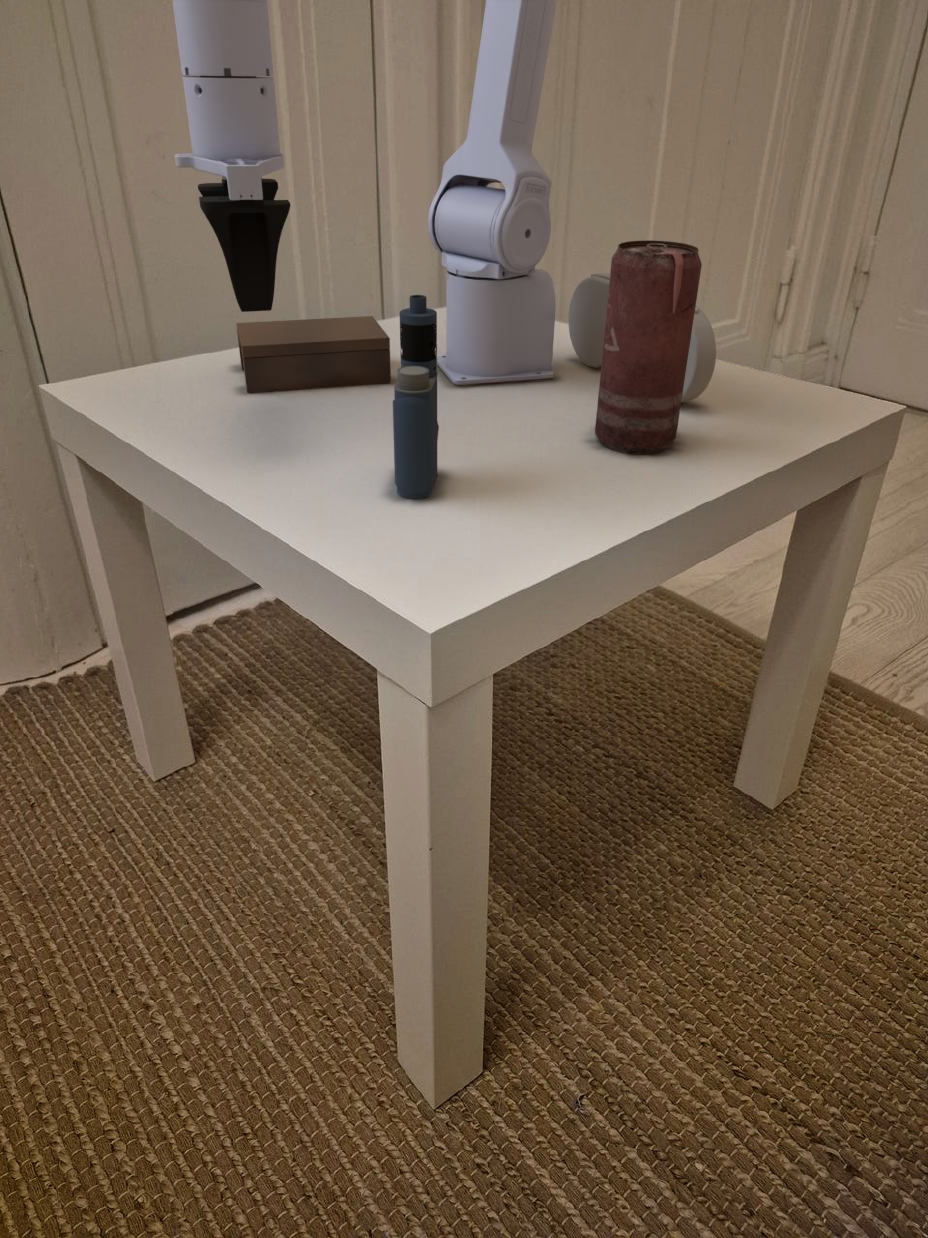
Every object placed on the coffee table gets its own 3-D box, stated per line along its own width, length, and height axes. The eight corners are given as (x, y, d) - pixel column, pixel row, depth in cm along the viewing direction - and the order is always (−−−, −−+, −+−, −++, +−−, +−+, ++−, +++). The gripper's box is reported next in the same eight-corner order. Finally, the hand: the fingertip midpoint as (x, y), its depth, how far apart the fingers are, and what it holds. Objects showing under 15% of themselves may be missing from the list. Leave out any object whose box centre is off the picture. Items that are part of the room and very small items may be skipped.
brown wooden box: (374, 358, 86) (372, 315, 84) (391, 382, 79) (389, 337, 77) (241, 366, 83) (236, 322, 81) (247, 392, 76) (241, 346, 74)
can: (627, 462, 64) (652, 256, 57) (578, 434, 69) (595, 240, 62) (693, 449, 67) (725, 250, 59) (641, 422, 71) (665, 235, 64)
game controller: (710, 412, 74) (727, 309, 69) (688, 416, 73) (704, 312, 69) (584, 352, 89) (591, 264, 84) (564, 355, 88) (571, 266, 83)
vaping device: (440, 470, 63) (441, 292, 56) (431, 501, 58) (430, 312, 52) (404, 468, 63) (400, 291, 56) (392, 499, 58) (386, 310, 52)
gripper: (165, 74, 62) (194, 279, 69) (161, 78, 50) (196, 325, 57) (268, 75, 63) (285, 275, 71) (287, 79, 52) (306, 319, 59)
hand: (252, 297), depth 64 cm, fingers open, 7 cm apart
